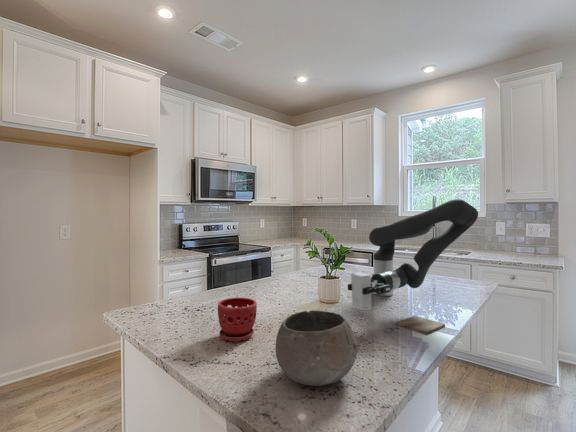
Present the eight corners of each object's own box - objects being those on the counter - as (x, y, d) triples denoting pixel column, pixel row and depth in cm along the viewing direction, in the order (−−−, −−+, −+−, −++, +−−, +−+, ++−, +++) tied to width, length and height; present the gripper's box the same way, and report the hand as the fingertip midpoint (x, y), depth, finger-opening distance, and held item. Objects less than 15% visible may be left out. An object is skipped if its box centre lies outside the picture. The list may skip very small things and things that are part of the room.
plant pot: (240, 347, 100) (239, 310, 99) (210, 339, 107) (209, 304, 106) (264, 333, 111) (264, 299, 110) (236, 326, 118) (235, 294, 117)
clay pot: (296, 410, 68) (295, 341, 68) (264, 367, 87) (263, 312, 87) (375, 387, 77) (374, 325, 76) (330, 351, 96) (329, 302, 95)
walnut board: (396, 324, 117) (396, 322, 117) (414, 317, 124) (414, 315, 124) (426, 334, 107) (426, 332, 107) (445, 326, 114) (445, 324, 114)
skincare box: (372, 309, 112) (371, 275, 111) (362, 311, 110) (361, 276, 109) (360, 304, 117) (360, 271, 117) (351, 306, 115) (350, 273, 115)
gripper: (370, 269, 127) (340, 275, 117) (401, 275, 115) (372, 283, 106) (370, 287, 127) (340, 295, 117) (401, 295, 116) (372, 305, 106)
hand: (355, 289), depth 111 cm, fingers closed on skincare box, 6 cm apart
